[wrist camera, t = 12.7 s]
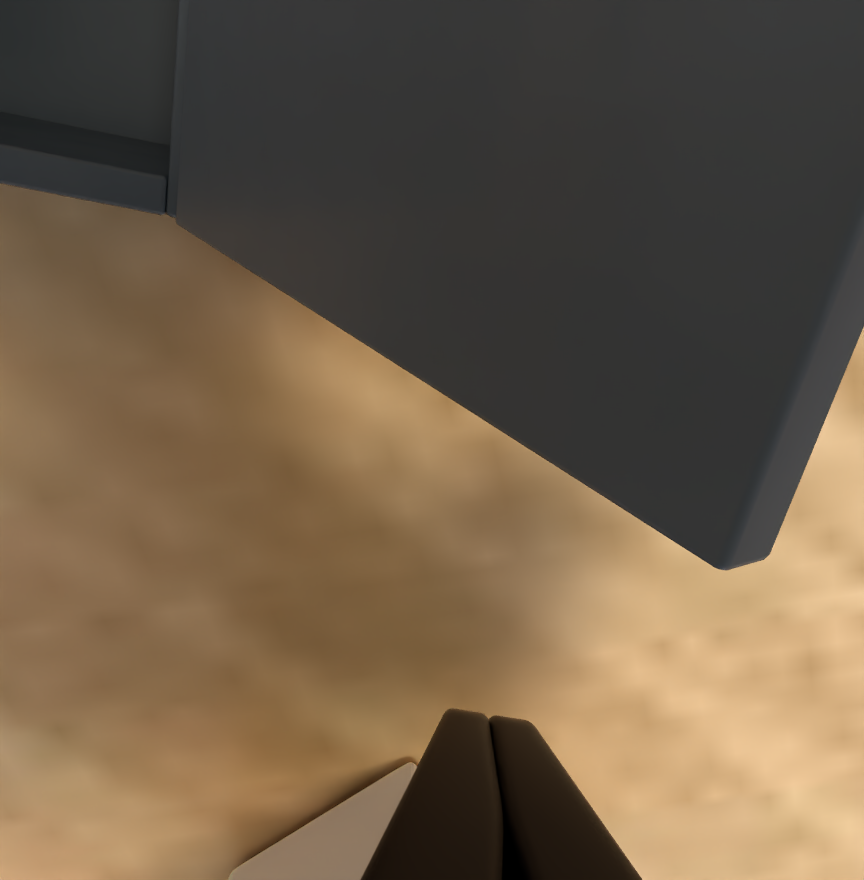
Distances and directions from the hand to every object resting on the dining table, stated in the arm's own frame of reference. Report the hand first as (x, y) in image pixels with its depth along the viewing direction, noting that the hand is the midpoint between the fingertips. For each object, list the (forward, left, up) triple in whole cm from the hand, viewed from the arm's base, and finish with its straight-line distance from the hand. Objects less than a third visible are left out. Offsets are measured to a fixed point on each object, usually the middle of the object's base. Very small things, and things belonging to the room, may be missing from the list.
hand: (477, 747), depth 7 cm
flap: (+10, +2, 0) cm, 10 cm away
